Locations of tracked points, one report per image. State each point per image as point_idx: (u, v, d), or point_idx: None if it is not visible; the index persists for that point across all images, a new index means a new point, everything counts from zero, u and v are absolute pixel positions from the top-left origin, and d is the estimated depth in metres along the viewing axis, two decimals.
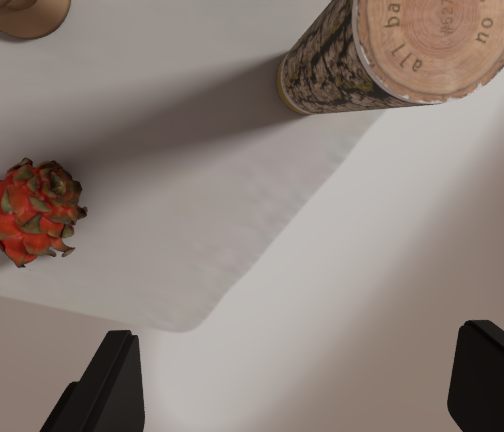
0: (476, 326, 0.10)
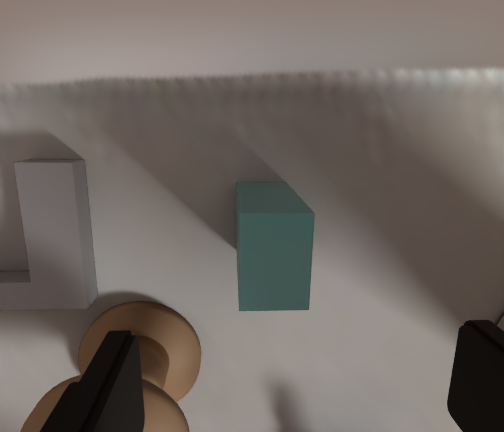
0: (476, 326, 0.10)
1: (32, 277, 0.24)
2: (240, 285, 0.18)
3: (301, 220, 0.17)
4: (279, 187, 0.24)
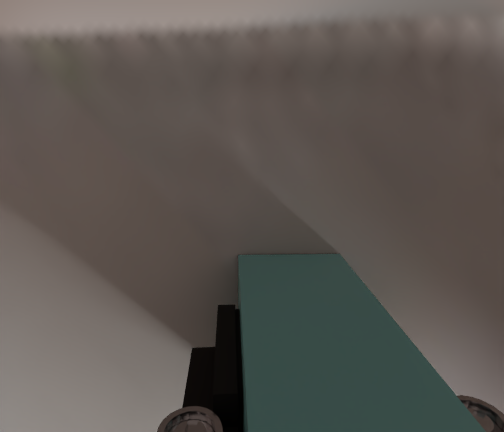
0: None
1: None
2: None
3: None
4: (333, 277, 0.11)
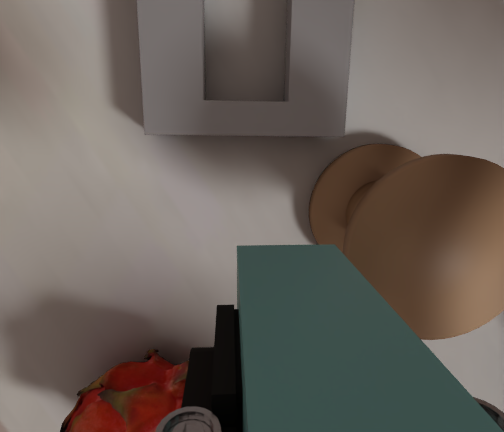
0: None
1: (291, 95, 0.22)
2: None
3: None
4: (328, 264, 0.11)
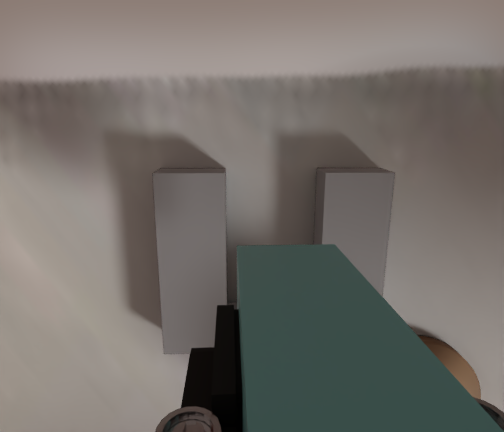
0: None
1: None
2: None
3: None
4: (328, 264, 0.11)
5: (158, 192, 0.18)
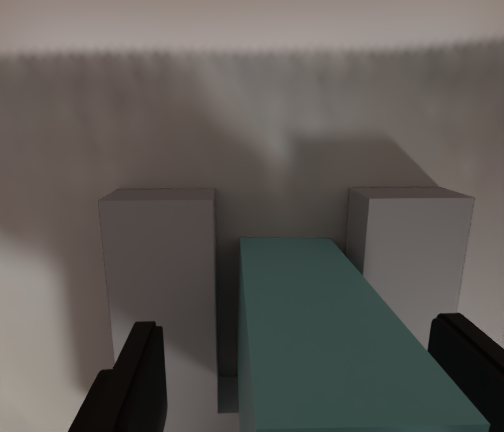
0: (447, 318, 0.10)
1: None
2: None
3: None
4: (324, 256, 0.12)
5: (108, 230, 0.11)
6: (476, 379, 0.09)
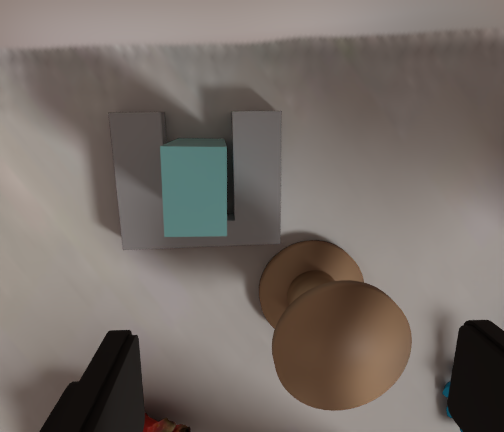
0: (476, 326, 0.10)
1: (236, 216, 0.28)
2: (164, 213, 0.20)
3: (215, 153, 0.20)
4: None
5: (113, 126, 0.25)
6: None
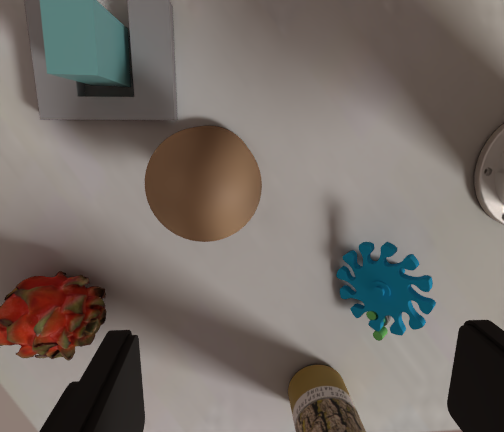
0: (476, 326, 0.10)
1: (135, 92, 0.33)
2: (45, 52, 0.25)
3: (83, 1, 0.25)
4: None
5: (28, 8, 0.31)
6: None
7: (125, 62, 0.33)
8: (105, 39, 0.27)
